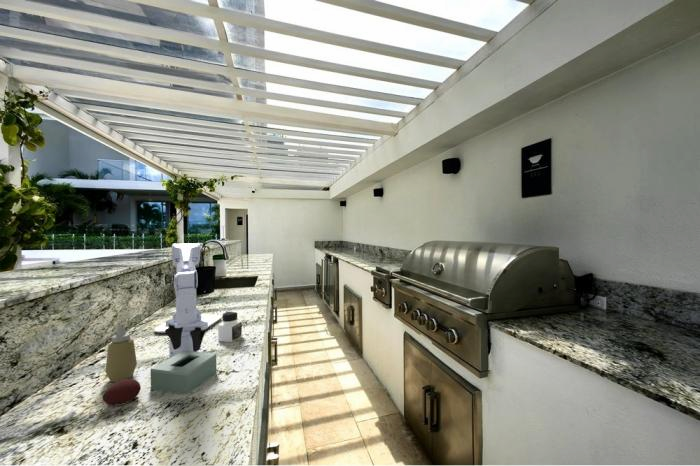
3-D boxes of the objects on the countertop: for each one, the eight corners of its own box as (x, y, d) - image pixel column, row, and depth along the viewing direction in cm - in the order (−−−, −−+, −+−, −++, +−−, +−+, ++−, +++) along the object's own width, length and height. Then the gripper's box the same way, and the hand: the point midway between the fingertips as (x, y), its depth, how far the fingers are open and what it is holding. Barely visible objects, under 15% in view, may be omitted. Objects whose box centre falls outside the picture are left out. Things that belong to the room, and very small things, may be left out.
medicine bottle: (232, 342, 119) (232, 315, 119) (217, 341, 120) (217, 314, 120) (242, 336, 126) (241, 310, 126) (228, 335, 127) (228, 309, 127)
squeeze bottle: (142, 373, 93) (142, 321, 93) (116, 386, 86) (115, 329, 85) (126, 369, 96) (126, 319, 96) (99, 382, 88) (98, 326, 88)
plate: (200, 335, 127) (200, 330, 127) (148, 335, 128) (148, 330, 128) (225, 318, 152) (225, 314, 152) (181, 318, 153) (181, 314, 153)
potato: (109, 397, 80) (109, 377, 80) (144, 391, 83) (143, 371, 83) (98, 413, 73) (98, 391, 73) (136, 405, 77) (136, 384, 76)
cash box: (150, 389, 84) (150, 368, 84) (184, 368, 97) (184, 350, 97) (186, 394, 82) (186, 373, 81) (216, 372, 94) (216, 353, 94)
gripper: (157, 310, 87) (157, 352, 87) (196, 313, 84) (196, 357, 84) (175, 304, 94) (176, 343, 94) (212, 306, 91) (212, 347, 91)
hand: (186, 349), depth 90 cm, fingers open, 7 cm apart
